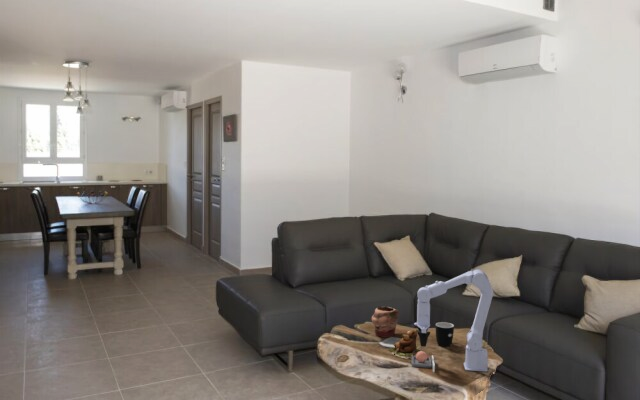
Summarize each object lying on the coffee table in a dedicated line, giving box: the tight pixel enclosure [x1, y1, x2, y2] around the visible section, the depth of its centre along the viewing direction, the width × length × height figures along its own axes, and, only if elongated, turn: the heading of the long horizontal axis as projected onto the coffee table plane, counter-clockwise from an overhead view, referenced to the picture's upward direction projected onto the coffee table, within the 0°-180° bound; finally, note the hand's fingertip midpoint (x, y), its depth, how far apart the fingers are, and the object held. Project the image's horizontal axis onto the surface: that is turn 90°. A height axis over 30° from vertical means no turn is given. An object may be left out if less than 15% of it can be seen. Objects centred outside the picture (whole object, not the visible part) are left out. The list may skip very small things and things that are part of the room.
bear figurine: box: [388, 329, 422, 360], centre depth 260 cm, size 14×15×12 cm
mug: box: [435, 321, 455, 348], centre depth 273 cm, size 12×9×10 cm
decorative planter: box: [371, 306, 400, 338], centre depth 287 cm, size 20×12×14 cm, turn 139°
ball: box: [416, 350, 428, 363], centre depth 247 cm, size 5×5×5 cm
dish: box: [411, 356, 432, 369], centre depth 248 cm, size 9×9×2 cm
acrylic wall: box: [431, 354, 436, 373], centre depth 244 cm, size 1×12×3 cm, turn 172°
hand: (422, 343), depth 247 cm, fingers open, 7 cm apart
